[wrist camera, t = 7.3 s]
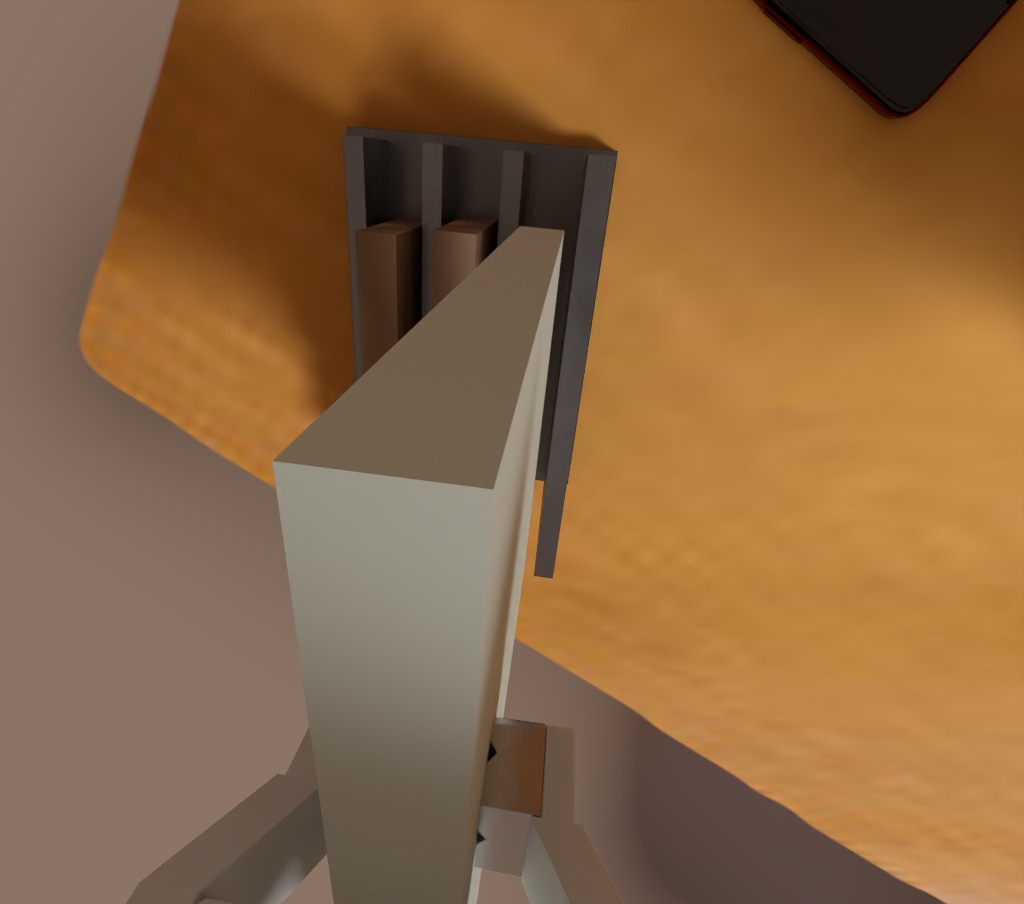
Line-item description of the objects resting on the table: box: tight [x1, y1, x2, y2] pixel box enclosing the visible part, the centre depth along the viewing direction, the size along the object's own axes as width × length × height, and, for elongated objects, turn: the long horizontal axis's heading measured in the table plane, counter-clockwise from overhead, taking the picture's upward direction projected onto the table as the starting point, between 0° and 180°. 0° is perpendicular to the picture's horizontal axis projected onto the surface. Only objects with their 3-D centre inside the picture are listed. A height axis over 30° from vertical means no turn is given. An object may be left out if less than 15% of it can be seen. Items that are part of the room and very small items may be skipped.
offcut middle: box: [432, 216, 499, 309], centre depth 31 cm, size 2×13×8 cm, turn 175°
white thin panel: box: [273, 226, 564, 904], centre depth 15 cm, size 2×15×18 cm, turn 175°
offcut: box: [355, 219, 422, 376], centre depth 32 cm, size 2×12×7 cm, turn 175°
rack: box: [343, 126, 618, 578], centre depth 31 cm, size 15×21×12 cm
